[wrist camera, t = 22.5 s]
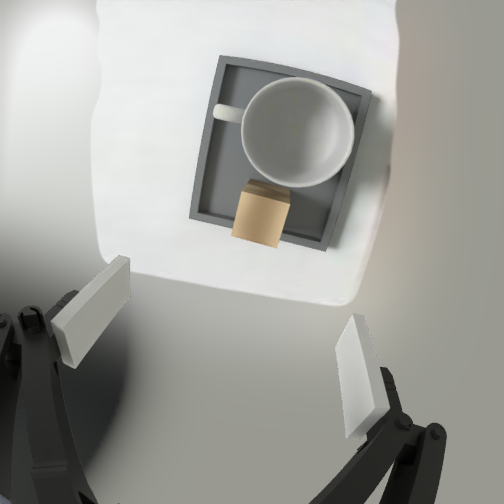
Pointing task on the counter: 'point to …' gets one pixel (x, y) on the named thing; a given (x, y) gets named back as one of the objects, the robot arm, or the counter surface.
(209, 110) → the tray
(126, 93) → the counter surface
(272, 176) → the teacup
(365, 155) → the counter surface
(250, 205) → the oak block
